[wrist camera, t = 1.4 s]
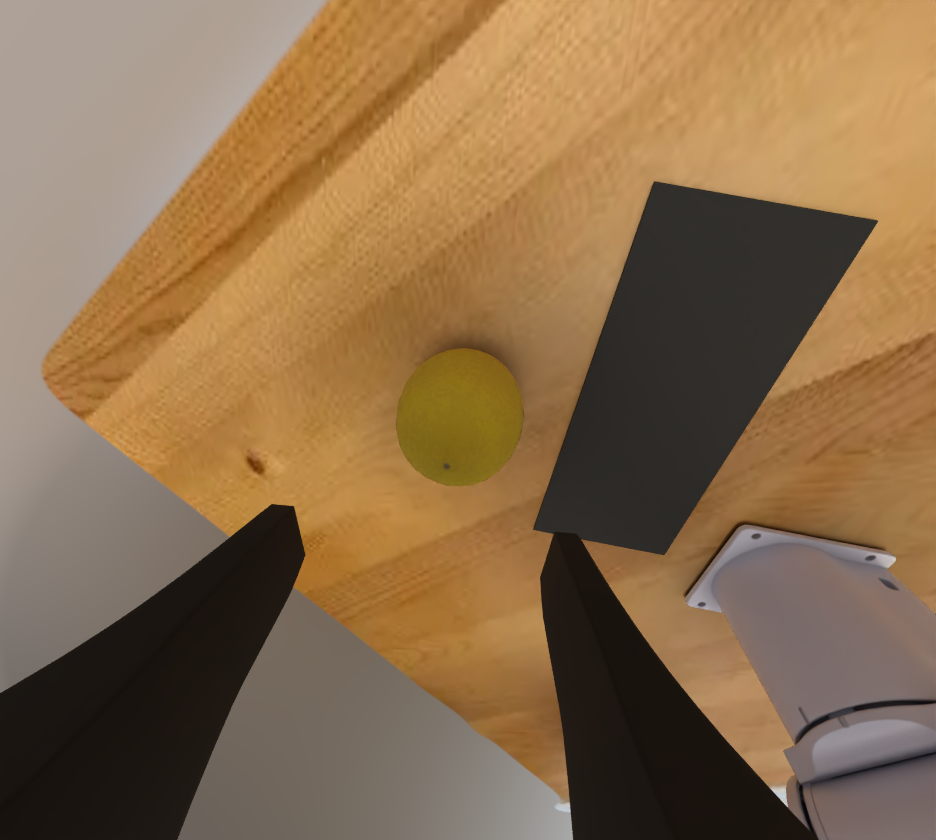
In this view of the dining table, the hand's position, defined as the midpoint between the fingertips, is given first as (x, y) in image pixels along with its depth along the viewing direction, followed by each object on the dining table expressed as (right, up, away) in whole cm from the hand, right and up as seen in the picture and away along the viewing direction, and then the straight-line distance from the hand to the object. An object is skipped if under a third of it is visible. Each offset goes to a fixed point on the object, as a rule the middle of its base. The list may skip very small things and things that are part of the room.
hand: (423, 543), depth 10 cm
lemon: (+1, +6, +10) cm, 11 cm away
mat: (+12, +4, +9) cm, 15 cm away
